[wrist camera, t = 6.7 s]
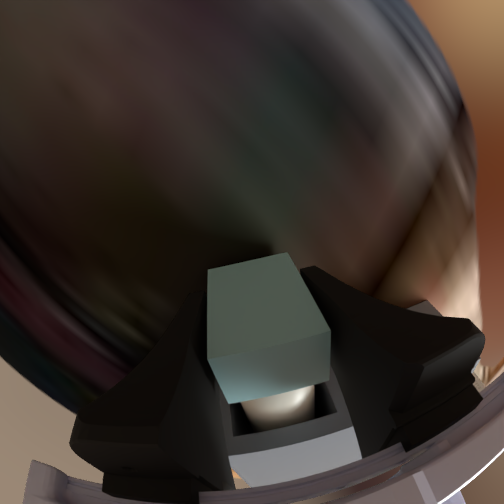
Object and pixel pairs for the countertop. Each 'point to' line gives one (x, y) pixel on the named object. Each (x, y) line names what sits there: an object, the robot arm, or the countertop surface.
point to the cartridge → (266, 340)
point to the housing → (296, 436)
